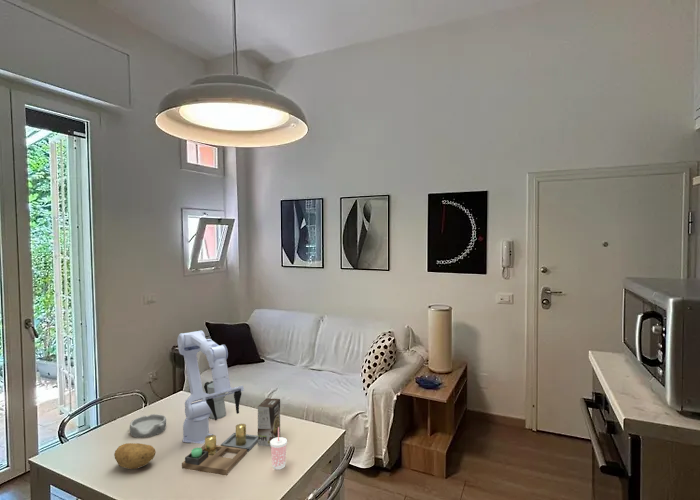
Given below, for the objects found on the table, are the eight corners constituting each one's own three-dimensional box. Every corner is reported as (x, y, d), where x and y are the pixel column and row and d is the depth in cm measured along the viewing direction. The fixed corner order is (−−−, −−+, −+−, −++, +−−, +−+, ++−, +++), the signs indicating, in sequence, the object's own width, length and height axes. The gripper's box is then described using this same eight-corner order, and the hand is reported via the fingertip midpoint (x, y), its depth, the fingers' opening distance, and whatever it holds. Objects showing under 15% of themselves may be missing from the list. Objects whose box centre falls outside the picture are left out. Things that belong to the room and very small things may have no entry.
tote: (220, 449, 153) (220, 444, 153) (234, 436, 162) (234, 432, 162) (248, 453, 150) (248, 448, 150) (260, 440, 159) (260, 436, 159)
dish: (168, 433, 166) (168, 421, 166) (131, 442, 158) (131, 430, 158) (163, 420, 178) (163, 410, 178) (128, 429, 170) (128, 417, 170)
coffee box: (272, 448, 153) (272, 407, 153) (257, 446, 155) (256, 406, 154) (281, 437, 162) (280, 398, 162) (266, 435, 164) (266, 397, 163)
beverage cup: (279, 459, 145) (279, 421, 145) (290, 465, 142) (290, 426, 141) (266, 466, 141) (266, 428, 141) (277, 472, 137) (277, 433, 137)
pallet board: (181, 468, 140) (181, 457, 140) (205, 448, 153) (205, 438, 153) (226, 475, 135) (226, 464, 135) (246, 454, 149) (246, 444, 149)
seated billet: (202, 457, 147) (202, 439, 147) (209, 452, 150) (209, 434, 150) (212, 459, 146) (212, 440, 146) (218, 453, 150) (218, 435, 149)
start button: (189, 458, 140) (189, 452, 140) (195, 453, 144) (195, 447, 144) (198, 460, 139) (197, 453, 139) (204, 454, 143) (204, 448, 143)
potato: (146, 475, 136) (146, 452, 135) (108, 473, 137) (107, 451, 136) (162, 460, 145) (161, 438, 145) (125, 458, 146) (125, 437, 146)
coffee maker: (233, 414, 184) (233, 376, 183) (218, 422, 176) (218, 382, 176) (212, 407, 191) (212, 371, 191) (197, 414, 184) (196, 376, 184)
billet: (233, 445, 155) (233, 427, 154) (239, 440, 158) (238, 423, 158) (242, 446, 154) (242, 428, 153) (247, 441, 157) (247, 424, 157)
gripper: (200, 383, 139) (206, 423, 135) (242, 373, 145) (248, 411, 141) (200, 383, 145) (205, 422, 141) (239, 373, 151) (246, 410, 147)
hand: (227, 416), depth 142 cm, fingers open, 7 cm apart
